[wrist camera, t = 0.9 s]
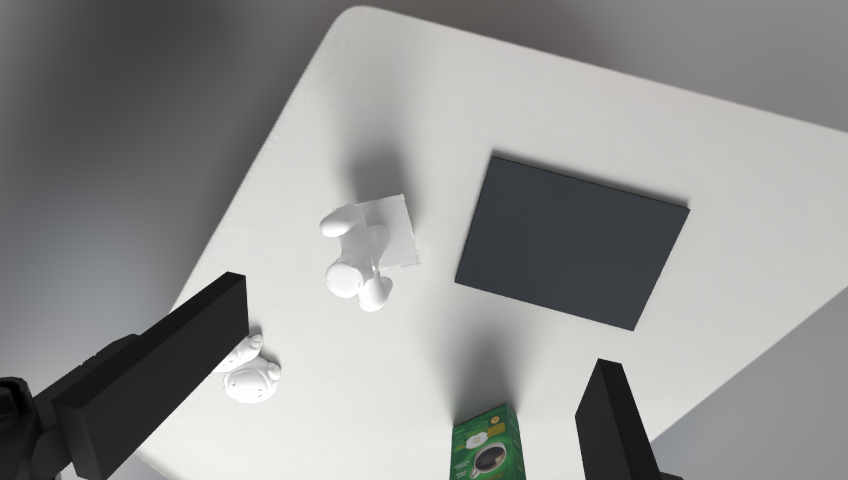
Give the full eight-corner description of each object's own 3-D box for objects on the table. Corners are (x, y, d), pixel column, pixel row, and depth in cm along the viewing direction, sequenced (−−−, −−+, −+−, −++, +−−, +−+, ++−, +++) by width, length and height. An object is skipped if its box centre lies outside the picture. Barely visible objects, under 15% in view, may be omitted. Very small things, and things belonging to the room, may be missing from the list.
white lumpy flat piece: (248, 306, 49) (234, 318, 46) (292, 389, 51) (281, 405, 49) (188, 326, 50) (171, 339, 47) (233, 405, 53) (220, 422, 50)
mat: (454, 280, 45) (454, 282, 44) (492, 155, 41) (492, 156, 40) (631, 328, 45) (633, 331, 44) (687, 208, 40) (691, 209, 40)
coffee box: (461, 444, 51) (460, 549, 39) (449, 427, 51) (444, 529, 38) (518, 418, 49) (536, 521, 37) (506, 401, 49) (520, 499, 36)
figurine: (363, 272, 46) (318, 344, 32) (339, 191, 43) (278, 229, 29) (426, 261, 45) (408, 330, 30) (405, 176, 42) (375, 208, 28)
